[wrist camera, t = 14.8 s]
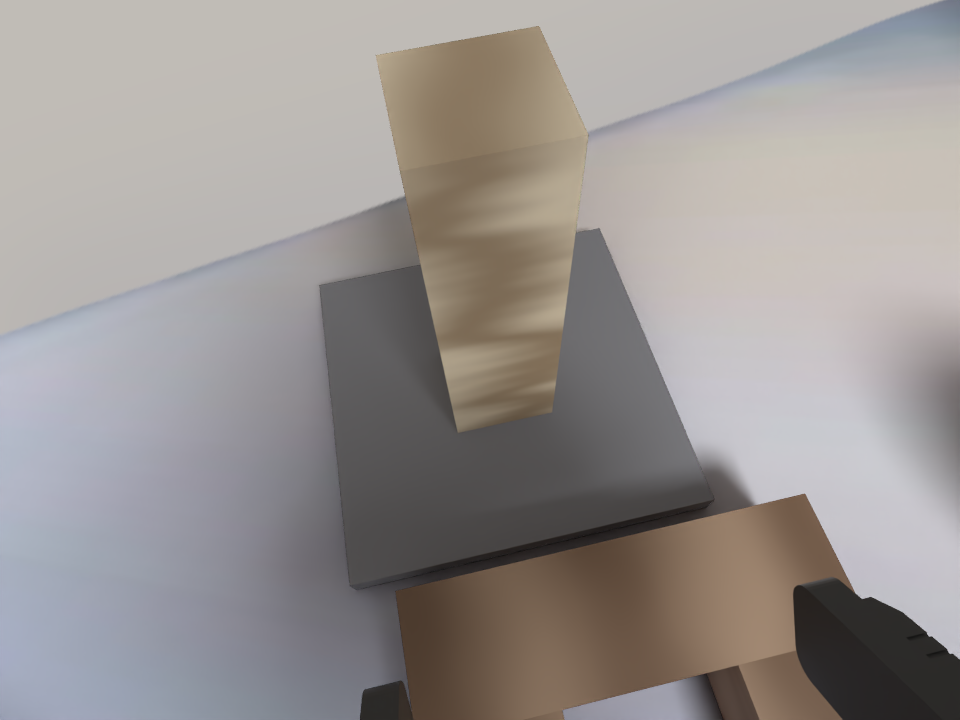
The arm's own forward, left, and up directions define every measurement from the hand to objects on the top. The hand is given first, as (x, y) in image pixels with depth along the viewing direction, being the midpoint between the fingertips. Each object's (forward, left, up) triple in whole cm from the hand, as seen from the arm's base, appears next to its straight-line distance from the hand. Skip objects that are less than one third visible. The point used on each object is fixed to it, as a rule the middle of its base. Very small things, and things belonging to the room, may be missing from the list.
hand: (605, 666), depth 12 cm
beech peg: (0, -11, -9) cm, 15 cm away
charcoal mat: (0, -12, -10) cm, 15 cm away
